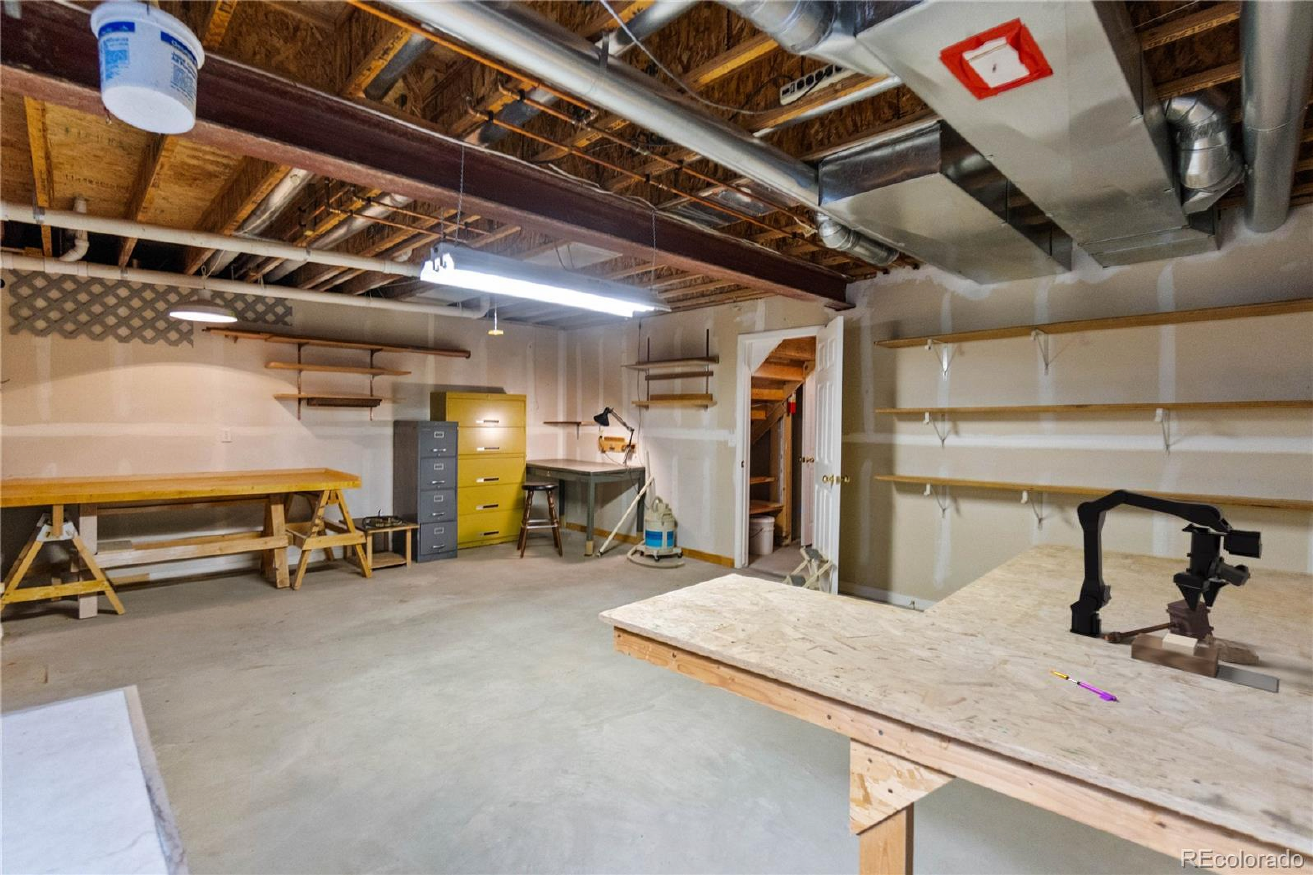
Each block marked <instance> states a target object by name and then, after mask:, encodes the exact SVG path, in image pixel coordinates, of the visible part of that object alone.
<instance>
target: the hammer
mask: <svg viewBox="0 0 1313 875" xmlns="http://www.w3.org/2000/svg"><path fill="white" fill-rule="evenodd" d="M1166 605H1167V608H1165V612H1166V614H1168V615H1169V622H1165V623H1161V624H1157V625H1153V626H1147V627H1144V628H1139V629H1135V630H1130V631H1129V630H1128V631H1124V632H1122V631H1111V632H1109V633H1108V634H1106V635H1105V637H1104V640H1105V642H1113V643H1119V642H1120V641H1124V640H1125V639H1128V638H1131V637H1137V636H1138V635H1139V633H1143V634H1150V633H1155V632H1158V631H1163V630H1168V631H1169V633H1170V634H1175V635H1180V636H1185V637H1189V638H1194V639H1198V642H1199V641H1203V640H1204V639H1205V640H1206V635H1207V634H1208V635H1211V636H1214V635H1213V631H1214V630H1215V627H1214V626H1211V625H1210V621H1209V615H1208V614H1210V613H1211V612H1212V611H1211V610H1212V609H1210V608H1208V607H1207V606H1206V604H1205V601H1202V600H1200V601H1199V605H1198V609H1197V611H1196V612H1193V611H1191V610H1190V608H1189V606H1188V604H1187V602H1186V600H1185V598H1183V599H1179V600H1176V601H1173V602H1169V603H1167V604H1166Z"/></svg>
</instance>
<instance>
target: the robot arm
mask: <svg viewBox="0 0 1313 875" xmlns="http://www.w3.org/2000/svg"><path fill="white" fill-rule="evenodd" d="M1121 505H1128V506H1132V507H1136V508H1141V509H1146V510H1151V511H1155V512H1158V513H1164V514H1168V515H1172V516H1175V517H1178V518H1180V519H1183V520H1185V521H1187V522H1190V523H1189V524H1188V525H1187V526H1185V527H1183V528H1181V531H1182V532H1183V533H1190V534H1191V536H1190V550H1189V551H1190V552H1187V553H1186V557H1187V558H1189V564H1188V565H1189V567H1186V568H1185V571H1179V572H1176V573H1175V574H1174V575H1173V578H1172V582H1173V583H1174V584H1175V586H1176V587H1177V588H1178V590H1179V591H1180V593H1181V595H1182V597H1183V599H1185V600H1186V602H1187V604H1188V606H1189V608H1190V610H1191V611H1193V612H1196V611H1197V609H1198V605H1199V601H1201V598H1203V602H1205V604H1206V606H1207V608H1213V606H1214V604H1215V601H1216V599H1217V597H1218V595H1219V593H1220V590H1221V589H1222V588H1224V587H1227V586H1229V585H1232V586H1234V587H1238V588H1239V587H1241V586H1245V585H1246V583H1247V581H1249V580H1250V579H1251V577H1252V576H1251V574H1252V573H1251V572H1250V570H1249V569H1250V568H1249V566H1247V565H1244V564H1243V563H1241V564H1238V565H1235V566H1234V565H1233V564H1229V563H1226V562H1225V558H1224V556H1223V555H1222V556H1221V546H1222V545H1223V546H1222V548H1223V551H1225V552H1228V555H1232V556H1238V557H1244V558H1245V557H1246V558H1253V559H1256V560H1257V559H1259V560H1261V559H1262V554H1263V553H1262V552H1263V543H1262V532H1261V531H1258V530H1243V529H1236V528H1234V527H1233V526H1232V525H1231V523H1229V522H1228V521H1227V519H1225V517H1224V516H1225V513H1224V510H1223V509H1222V508H1221V507H1220V506H1219V505H1218V504H1216V503H1215V504H1214V503H1211V502H1210V503H1209V502H1201V501H1200V502H1197V501H1180V500H1175V499H1168V498H1164V497H1159V496H1155V495H1154V496H1153V495H1149V494H1144V493H1141V492H1136V491H1130V490H1128V489H1125V488H1121V489H1120V488H1119V489H1116V490H1113V491H1112V492H1110V493H1109V494H1107V495H1104V496H1102V497H1100V498H1099V499H1096V500H1095V499H1092V500H1088V501H1084V502H1081V503H1080V504H1079V505H1078V506H1077V508H1076V514H1077V518H1078V522H1079V524H1080V526H1081V529H1082V532H1083V556H1084V557H1083V564H1084V568H1083V569H1084V571H1083V572H1084V578H1083V581H1082V585H1081V587H1080V592H1079V598H1078V600H1076V601H1075V602H1074V603H1072V604H1070V605H1069V608H1070V611H1071V623H1070V624H1071V625H1070V627H1071V628H1070V629H1069V632H1070V633H1074V634H1079V635H1083V636H1089V637H1091V638H1097V637H1098V636H1099V635H1101V633H1102V620H1103V619H1102V618H1100V613H1099V612H1100V610H1101V609H1102V608H1104V607H1106V606H1107V605H1108V604H1109V602H1110V601H1111V600H1112V598H1113V597H1112V596H1111V590H1112V586H1111V584H1110V585H1109V584H1108V585H1107V584H1105V582H1104V579H1103V578H1104V577H1103V548H1102V547H1103V546H1102V545H1103V544H1102V542H1103V541H1102V531H1103V527H1104V524H1105V522H1106V516H1107V513H1108V512H1109V511H1112V510H1113V509H1115V508H1116V507H1119V506H1121ZM1212 530H1213V531H1212ZM1222 538H1223V543H1222V544H1221V542H1222Z"/></svg>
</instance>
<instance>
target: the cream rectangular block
mask: <svg viewBox="0 0 1313 875" xmlns="http://www.w3.org/2000/svg"><path fill="white" fill-rule="evenodd" d="M1163 638H1164V639H1163V641H1162V648H1163V649H1167V650H1171V651H1176V652H1180V653H1185V654H1189V655H1194V653H1195V651H1196V649H1197V645H1198V642H1199V641H1198V639H1194V638H1189V637H1185V636H1180V635H1175V634H1170V632H1167V633H1166V635H1165V636H1164V637H1163Z"/></svg>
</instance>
